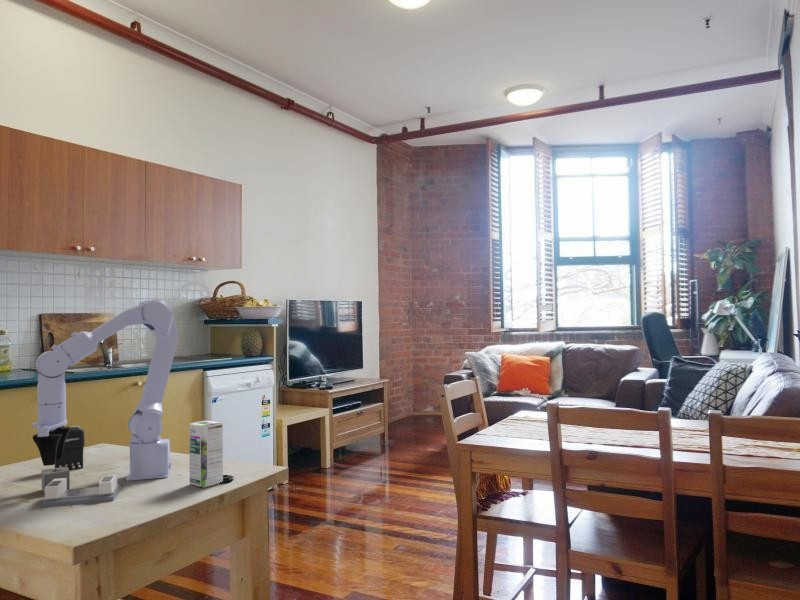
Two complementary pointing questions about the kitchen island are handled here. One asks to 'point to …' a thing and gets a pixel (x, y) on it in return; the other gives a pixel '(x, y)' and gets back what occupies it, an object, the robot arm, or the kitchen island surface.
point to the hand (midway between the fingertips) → (52, 462)
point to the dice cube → (54, 476)
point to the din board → (81, 497)
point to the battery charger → (72, 450)
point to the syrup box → (205, 453)
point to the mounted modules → (60, 486)
